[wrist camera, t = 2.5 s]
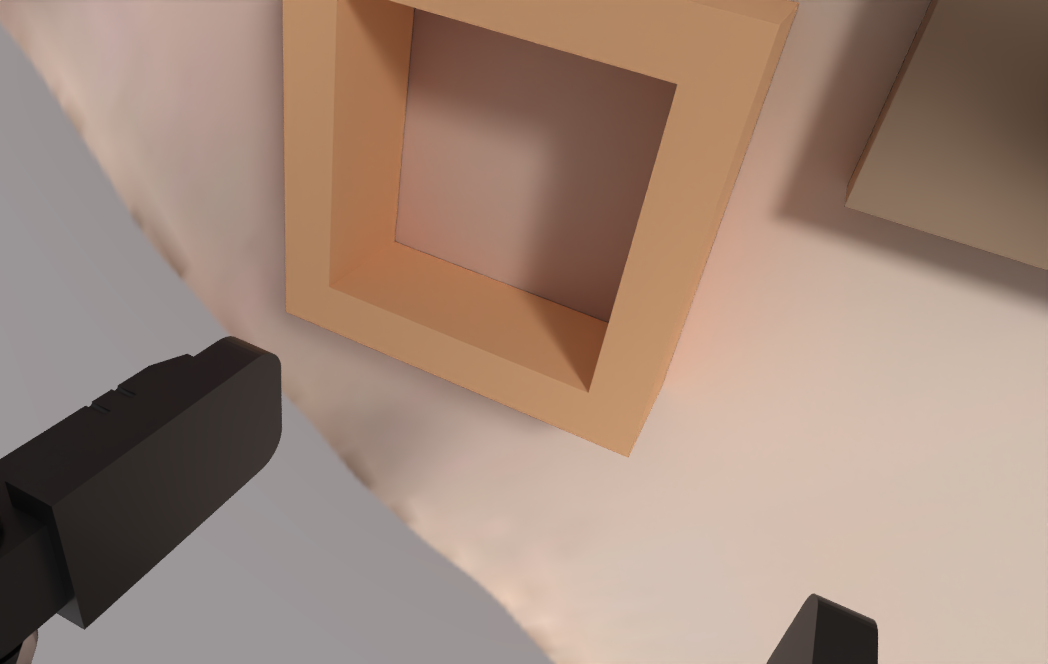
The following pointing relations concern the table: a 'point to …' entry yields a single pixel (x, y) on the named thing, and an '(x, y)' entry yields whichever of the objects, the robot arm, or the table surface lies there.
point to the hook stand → (967, 131)
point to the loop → (481, 302)
